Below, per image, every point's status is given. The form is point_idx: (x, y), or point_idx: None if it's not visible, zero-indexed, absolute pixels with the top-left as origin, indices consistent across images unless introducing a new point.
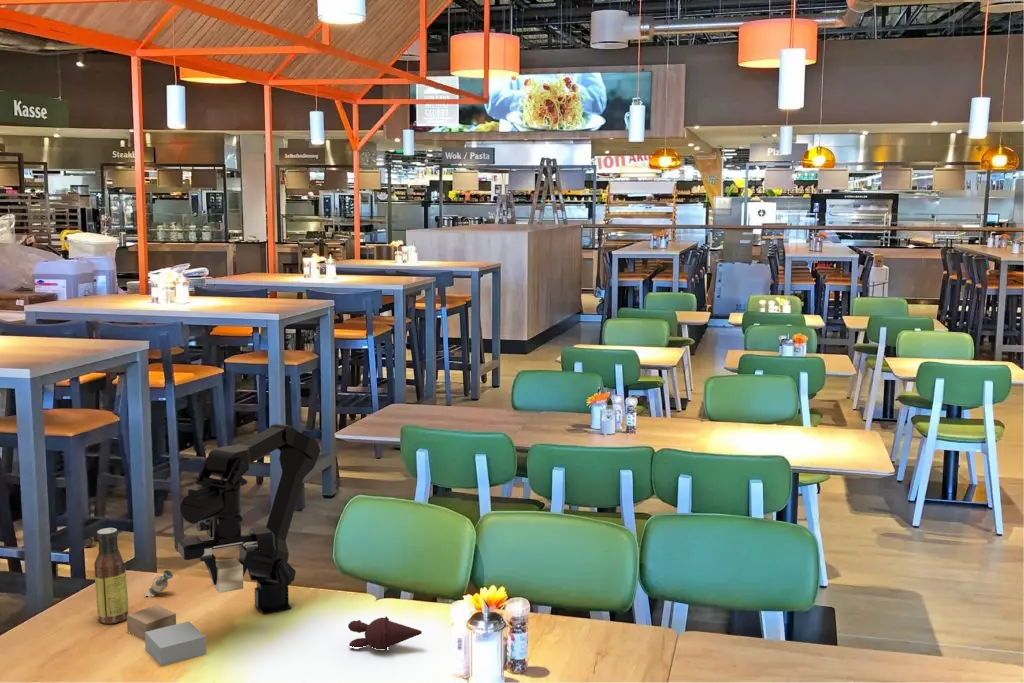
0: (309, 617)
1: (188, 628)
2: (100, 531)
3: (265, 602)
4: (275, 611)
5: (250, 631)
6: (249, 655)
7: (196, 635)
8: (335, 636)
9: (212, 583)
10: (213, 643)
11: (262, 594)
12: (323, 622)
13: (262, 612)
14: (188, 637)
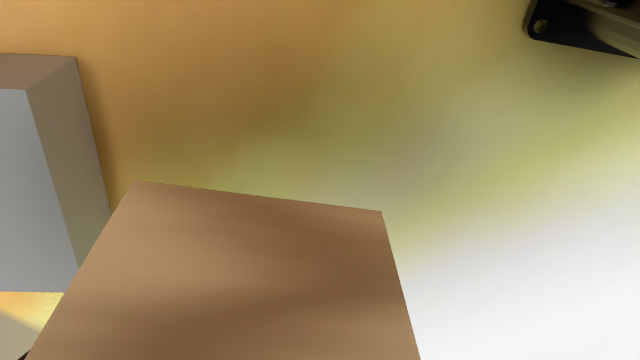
0: (628, 184)
1: (12, 180)
2: None
3: (588, 11)
4: (584, 47)
5: (357, 162)
6: None
7: (45, 265)
8: (548, 342)
9: (127, 190)
10: (170, 174)
11: (607, 16)
12: (618, 249)
13: (526, 24)
14: (3, 262)
